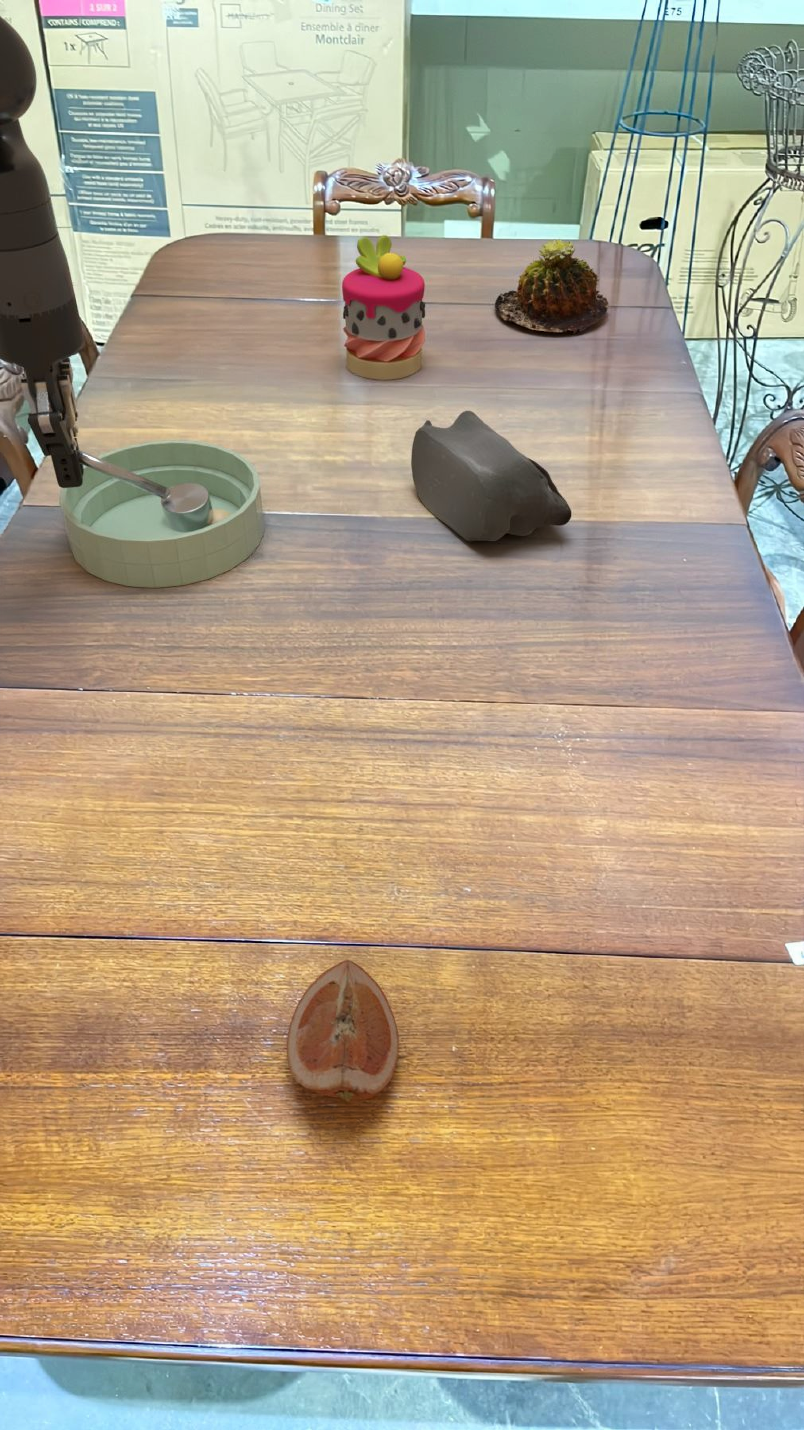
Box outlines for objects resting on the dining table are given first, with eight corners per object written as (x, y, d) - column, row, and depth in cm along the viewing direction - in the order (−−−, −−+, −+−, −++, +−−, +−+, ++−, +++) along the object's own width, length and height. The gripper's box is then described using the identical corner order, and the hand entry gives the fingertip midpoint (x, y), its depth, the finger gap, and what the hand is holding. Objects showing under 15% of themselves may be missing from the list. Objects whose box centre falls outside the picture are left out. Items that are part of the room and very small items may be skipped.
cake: (441, 362, 141) (444, 243, 131) (384, 388, 135) (383, 266, 125) (383, 340, 146) (382, 224, 136) (327, 364, 141) (321, 245, 131)
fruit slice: (397, 1129, 63) (397, 1085, 59) (281, 1127, 63) (275, 1082, 59) (400, 1004, 69) (400, 958, 66) (295, 1002, 69) (289, 956, 66)
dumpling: (198, 517, 104) (235, 524, 104) (205, 499, 106) (241, 506, 107) (196, 549, 106) (232, 555, 106) (203, 530, 109) (238, 537, 109)
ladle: (214, 500, 106) (192, 409, 98) (212, 530, 103) (190, 438, 95) (76, 513, 106) (43, 424, 98) (70, 544, 103) (36, 454, 95)
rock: (584, 537, 110) (593, 467, 105) (490, 568, 106) (495, 496, 100) (486, 461, 122) (490, 394, 117) (399, 485, 118) (399, 418, 112)
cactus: (493, 289, 160) (497, 220, 154) (600, 291, 160) (609, 222, 153) (495, 336, 147) (500, 262, 141) (613, 338, 147) (623, 265, 140)
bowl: (66, 603, 101) (52, 549, 97) (77, 499, 115) (66, 447, 111) (271, 584, 104) (266, 530, 100) (257, 484, 118) (252, 433, 114)
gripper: (-11, 267, 93) (36, 449, 104) (-32, 329, 83) (23, 523, 95) (78, 261, 94) (115, 442, 105) (68, 322, 84) (111, 515, 95)
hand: (71, 480), depth 100 cm, fingers closed on ladle, 1 cm apart
